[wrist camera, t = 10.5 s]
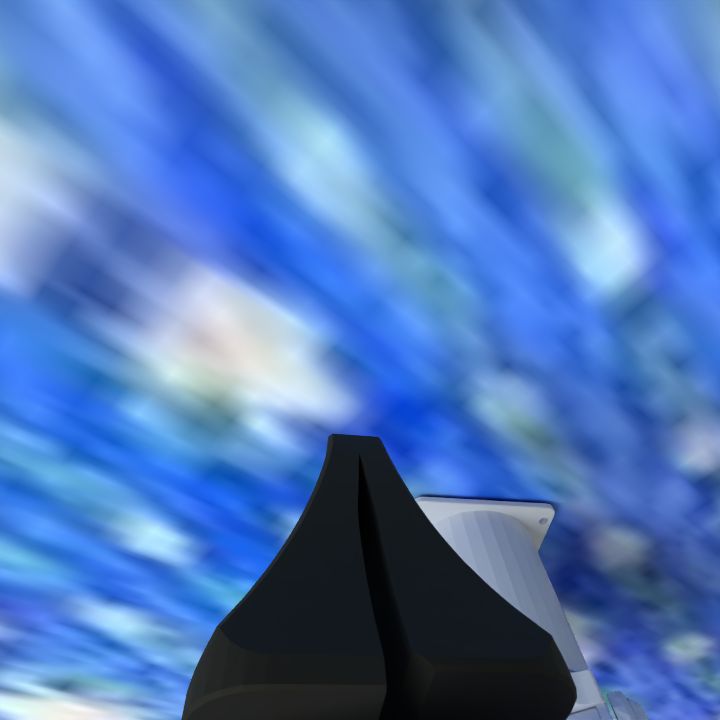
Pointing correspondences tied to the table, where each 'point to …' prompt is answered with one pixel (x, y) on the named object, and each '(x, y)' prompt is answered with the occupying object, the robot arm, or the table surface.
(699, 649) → the table surface
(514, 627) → the robot arm
